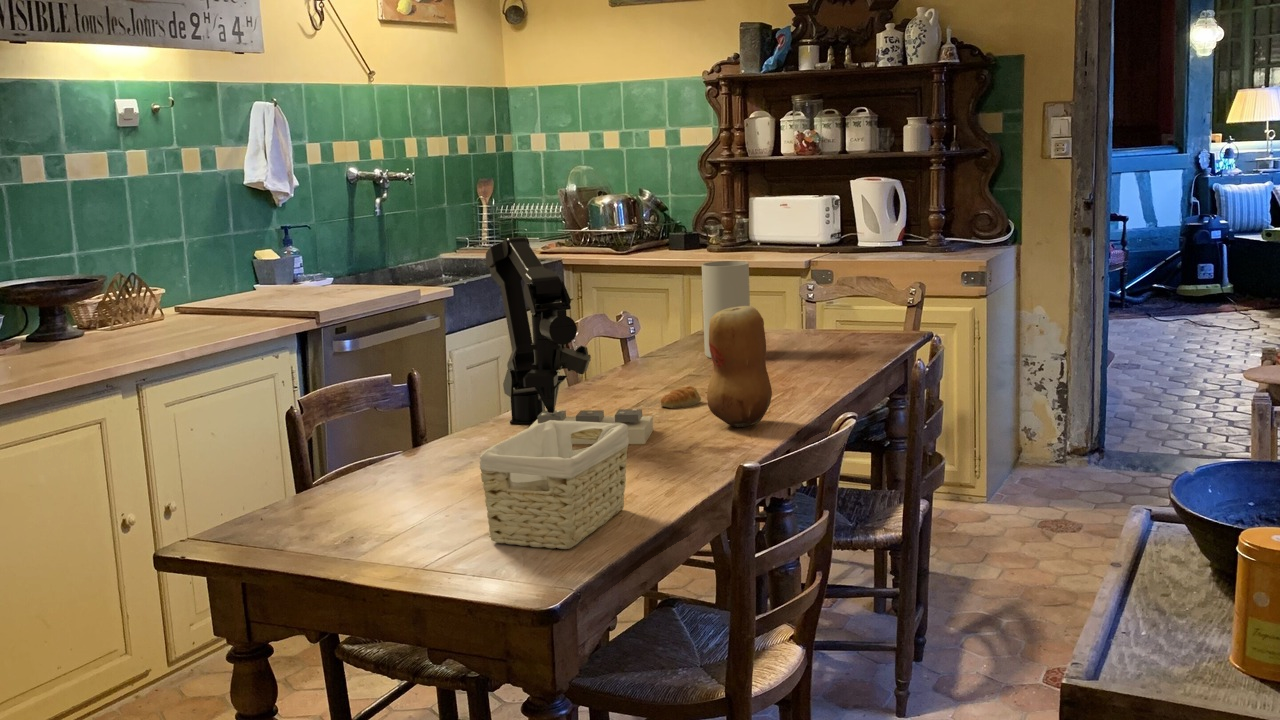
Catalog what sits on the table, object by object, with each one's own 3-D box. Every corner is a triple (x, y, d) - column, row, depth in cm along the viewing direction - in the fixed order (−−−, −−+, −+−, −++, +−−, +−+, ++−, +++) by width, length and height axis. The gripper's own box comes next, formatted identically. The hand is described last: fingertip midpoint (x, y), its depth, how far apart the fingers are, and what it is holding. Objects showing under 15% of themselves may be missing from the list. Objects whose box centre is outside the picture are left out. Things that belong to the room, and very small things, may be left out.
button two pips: (614, 422, 245) (614, 413, 245) (619, 416, 250) (618, 408, 249) (638, 422, 244) (638, 413, 244) (642, 416, 249) (642, 408, 249)
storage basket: (548, 500, 208) (543, 416, 205) (636, 507, 202) (632, 421, 199) (480, 547, 186) (473, 453, 184) (576, 556, 180) (571, 460, 178)
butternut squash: (697, 423, 256) (693, 306, 252) (753, 415, 261) (750, 299, 257) (728, 437, 244) (724, 314, 239) (786, 428, 249) (783, 307, 244)
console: (527, 444, 246) (526, 429, 245) (540, 430, 256) (539, 416, 256) (644, 444, 242) (644, 429, 241) (653, 430, 252) (652, 416, 252)
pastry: (674, 411, 269) (674, 394, 268) (653, 407, 274) (652, 391, 273) (703, 403, 275) (702, 387, 275) (681, 400, 280) (681, 383, 279)
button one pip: (576, 423, 246) (575, 415, 246) (581, 417, 251) (580, 409, 251) (599, 423, 246) (599, 415, 245) (604, 417, 250) (603, 409, 250)
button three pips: (537, 423, 248) (537, 415, 247) (543, 417, 252) (542, 409, 252) (560, 423, 247) (560, 415, 247) (566, 417, 252) (565, 409, 251)
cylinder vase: (753, 359, 323) (750, 265, 318) (705, 361, 323) (702, 267, 318) (749, 350, 335) (746, 259, 330) (703, 352, 335) (700, 261, 330)
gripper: (576, 345, 236) (580, 423, 239) (595, 329, 254) (599, 401, 257) (520, 346, 238) (525, 423, 241) (543, 329, 256) (547, 402, 259)
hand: (551, 412), depth 249 cm, fingers closed, pressing on button three pips
